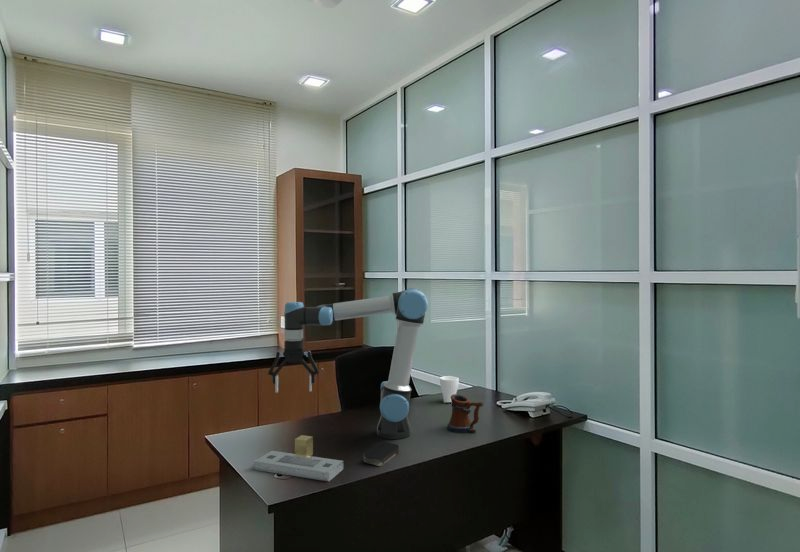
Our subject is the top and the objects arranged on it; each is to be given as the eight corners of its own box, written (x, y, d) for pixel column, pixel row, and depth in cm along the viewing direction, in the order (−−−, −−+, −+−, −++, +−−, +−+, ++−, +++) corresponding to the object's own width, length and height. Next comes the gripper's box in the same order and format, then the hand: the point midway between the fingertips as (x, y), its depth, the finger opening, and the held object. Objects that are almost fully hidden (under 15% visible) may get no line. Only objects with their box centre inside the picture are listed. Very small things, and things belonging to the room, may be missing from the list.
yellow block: (312, 454, 186) (312, 436, 186) (306, 459, 182) (306, 440, 182) (301, 452, 188) (301, 435, 188) (294, 457, 183) (294, 439, 183)
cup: (461, 401, 266) (461, 377, 266) (455, 406, 256) (455, 380, 256) (443, 399, 270) (443, 375, 270) (436, 403, 260) (437, 379, 260)
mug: (489, 432, 213) (489, 398, 213) (474, 438, 205) (474, 403, 205) (457, 423, 226) (457, 391, 226) (442, 428, 218) (442, 396, 218)
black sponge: (381, 450, 192) (381, 441, 192) (400, 453, 188) (400, 444, 188) (361, 464, 177) (361, 454, 177) (381, 468, 173) (381, 458, 173)
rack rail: (343, 469, 172) (343, 460, 172) (329, 481, 162) (329, 472, 162) (271, 458, 182) (271, 450, 182) (254, 469, 171) (254, 460, 171)
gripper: (324, 338, 202) (324, 388, 202) (264, 338, 199) (264, 389, 199) (324, 340, 194) (324, 392, 194) (261, 341, 191) (261, 394, 191)
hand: (293, 391), depth 197 cm, fingers open, 13 cm apart
